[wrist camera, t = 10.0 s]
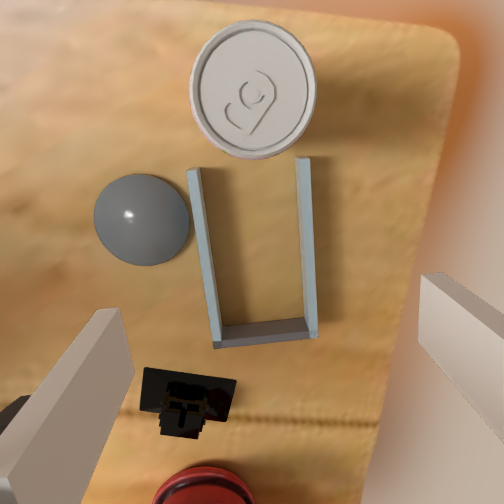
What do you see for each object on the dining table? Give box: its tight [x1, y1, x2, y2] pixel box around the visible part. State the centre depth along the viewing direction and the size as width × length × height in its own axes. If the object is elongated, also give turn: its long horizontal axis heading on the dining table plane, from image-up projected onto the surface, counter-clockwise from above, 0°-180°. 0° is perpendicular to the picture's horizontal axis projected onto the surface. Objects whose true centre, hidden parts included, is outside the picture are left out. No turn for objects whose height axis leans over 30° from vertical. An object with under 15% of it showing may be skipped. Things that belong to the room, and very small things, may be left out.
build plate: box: [140, 367, 237, 439], centre depth 36 cm, size 12×7×5 cm, turn 78°
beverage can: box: [189, 20, 317, 160], centre depth 22 cm, size 6×6×15 cm
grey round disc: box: [94, 174, 190, 266], centre depth 32 cm, size 8×8×1 cm
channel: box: [186, 156, 318, 349], centre depth 32 cm, size 10×16×2 cm, turn 6°
